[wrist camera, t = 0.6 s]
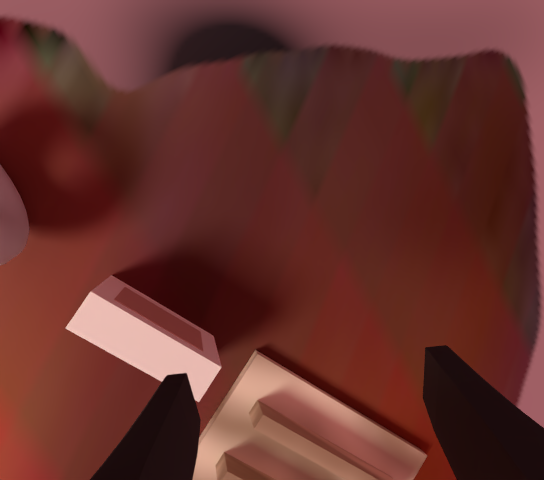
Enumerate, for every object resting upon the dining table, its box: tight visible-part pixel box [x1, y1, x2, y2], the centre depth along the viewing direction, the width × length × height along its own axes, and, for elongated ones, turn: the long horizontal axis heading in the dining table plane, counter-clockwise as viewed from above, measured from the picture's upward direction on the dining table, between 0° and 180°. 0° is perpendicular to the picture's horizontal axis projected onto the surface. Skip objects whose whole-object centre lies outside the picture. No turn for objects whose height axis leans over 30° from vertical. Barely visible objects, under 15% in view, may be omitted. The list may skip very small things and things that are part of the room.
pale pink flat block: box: [66, 275, 221, 402], centre depth 28 cm, size 2×9×7 cm, turn 56°
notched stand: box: [193, 350, 427, 480], centre depth 32 cm, size 12×18×4 cm, turn 56°
